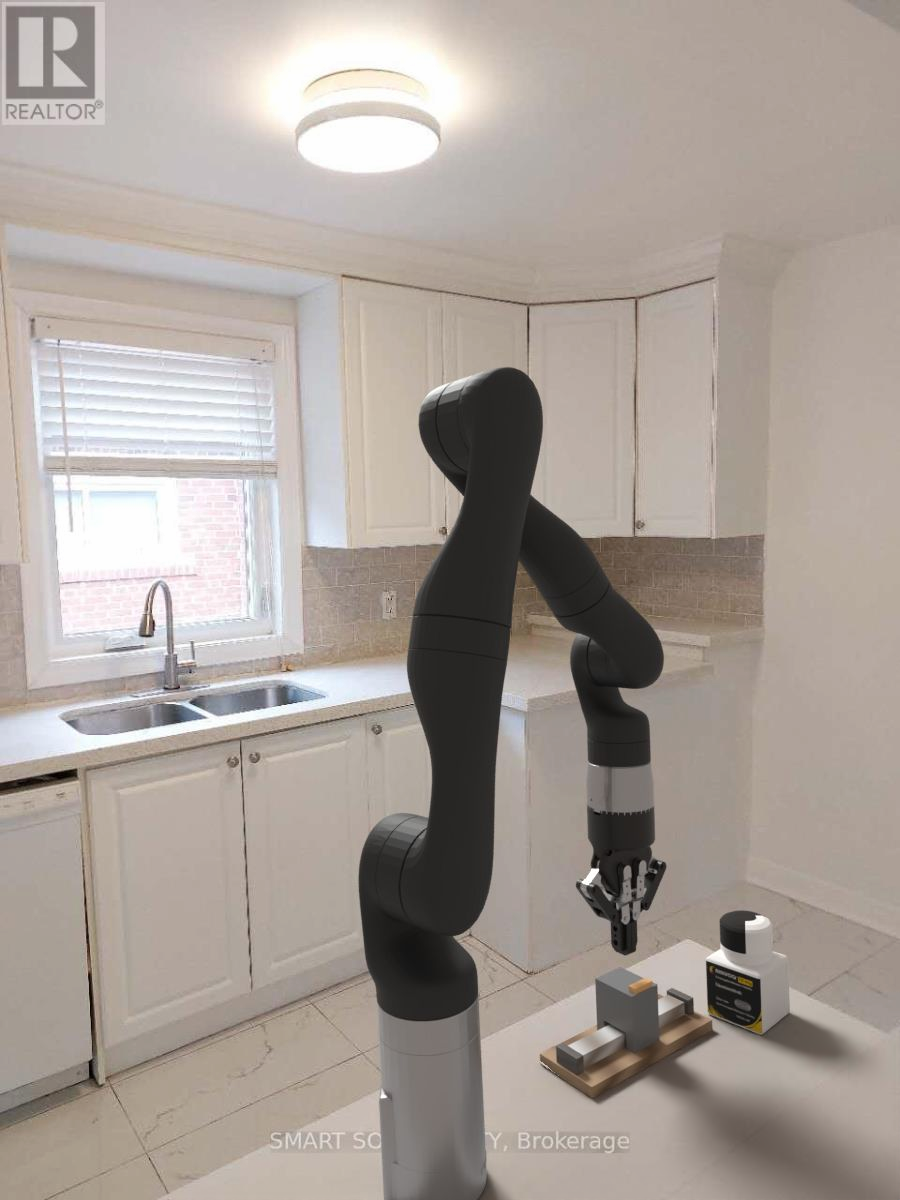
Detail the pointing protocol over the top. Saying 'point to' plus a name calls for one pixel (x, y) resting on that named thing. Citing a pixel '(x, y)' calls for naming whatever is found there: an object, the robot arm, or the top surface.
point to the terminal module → (628, 1007)
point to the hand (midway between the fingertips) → (624, 951)
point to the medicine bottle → (747, 974)
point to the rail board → (624, 1047)
